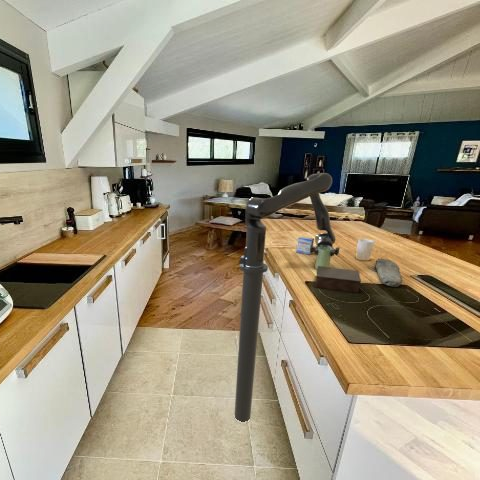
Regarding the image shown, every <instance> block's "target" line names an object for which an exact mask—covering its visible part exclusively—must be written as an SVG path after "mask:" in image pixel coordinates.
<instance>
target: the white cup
mask: <svg viewBox="0 0 480 480" xmlns="http://www.w3.org/2000/svg"><path fill="white" fill-rule="evenodd" d="M356 244H357V245H356V252H355V253H356V254H355V259H356V260H359V261H365V262H367V261H370V260H371V257H372V254H373V250H374V247H375V244H376V240H373V239H370V238H369V239H368V238H358V239H357V243H356Z"/></svg>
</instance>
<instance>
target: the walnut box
mask: <svg viewBox="0 0 480 480" xmlns="http://www.w3.org/2000/svg"><path fill="white" fill-rule="evenodd" d="M361 283H362V279H361V276H360V272H359V270H357V269H349V268H348V269H347V268H340V267H330V266H329V267H321V266H317V269H316V274H315V284H314V288H318V289H325V290H333V291H339V292H340V291H341V292H348V293H349V292H350V293H355V294H356V293H357V294H358V293H359V291H360V285H361Z"/></svg>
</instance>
